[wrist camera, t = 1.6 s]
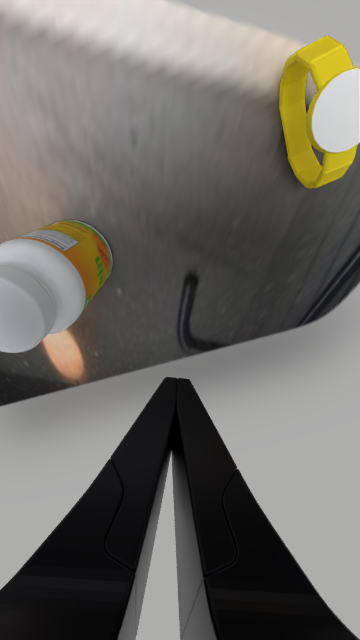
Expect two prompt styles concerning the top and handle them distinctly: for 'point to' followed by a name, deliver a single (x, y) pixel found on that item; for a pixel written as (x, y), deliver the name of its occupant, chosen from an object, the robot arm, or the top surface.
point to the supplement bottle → (49, 281)
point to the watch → (320, 111)
